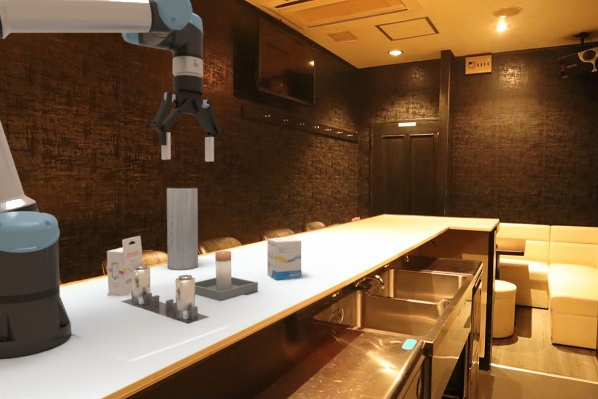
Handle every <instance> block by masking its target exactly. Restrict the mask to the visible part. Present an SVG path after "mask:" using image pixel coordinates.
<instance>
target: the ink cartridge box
mask: <svg viewBox="0 0 598 399" xmlns="http://www.w3.org/2000/svg"><path fill="white" fill-rule="evenodd" d="M131 242H134V243H131ZM121 244H122V247H118V248H116V249H115V248H114V249H111V250H110V249H109V250H107V251H106V258H107V259H106V260H107V264H106V265H107V286H108V288H107V289H108V291H107V292H108V294H107V295H108V296H109V297H110V296H122V297H124V296H128V295H130V294H132V290H133V281H132V269H134V268H135V266H139V265H143V248H142V238H141V235H136V236H133V237H128V238H124V239H122V241H121Z"/></svg>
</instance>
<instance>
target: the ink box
mask: <svg viewBox="0 0 598 399" xmlns="http://www.w3.org/2000/svg"><path fill="white" fill-rule="evenodd" d="M267 276H269V277H270V278H272V279H274V280H276V281H280V280H292V278H295V279H301V278H302V240H300V239H298V238H294V237H293V236H292V237H290V236H289V237H288V236H286V237H285V236H283V237H274V238H267ZM300 277H301V278H300Z"/></svg>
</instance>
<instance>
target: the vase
mask: <svg viewBox="0 0 598 399" xmlns="http://www.w3.org/2000/svg"><path fill="white" fill-rule="evenodd" d="M198 200H199V198H198V188H197V187H167V188H166V220H167V221H166V222H167V223H166V225H167V226H166V229H167V232H166V234H167V235H166V237H167V242H166V244H167V247H166V248H167V268H168V269H170V270H174V271H175V270H178V271H180V270H182V271H184V270H191V269H196V268H197V267H199V243H198V242H199V236H198V235H199V233H198V232H199V231H198V230H199V229H198V228H199V227H198V225H199V224H198V223H199V221H198V220H199V218H198V217H199V216H198V214H199V213H198V208H199V206H198V205H199V203H198Z"/></svg>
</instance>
